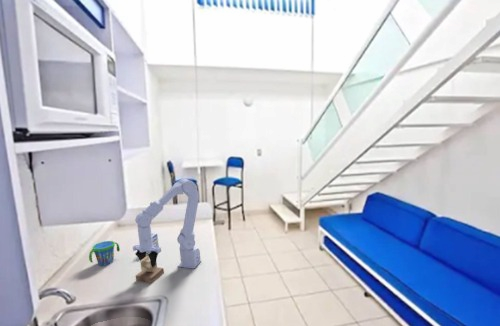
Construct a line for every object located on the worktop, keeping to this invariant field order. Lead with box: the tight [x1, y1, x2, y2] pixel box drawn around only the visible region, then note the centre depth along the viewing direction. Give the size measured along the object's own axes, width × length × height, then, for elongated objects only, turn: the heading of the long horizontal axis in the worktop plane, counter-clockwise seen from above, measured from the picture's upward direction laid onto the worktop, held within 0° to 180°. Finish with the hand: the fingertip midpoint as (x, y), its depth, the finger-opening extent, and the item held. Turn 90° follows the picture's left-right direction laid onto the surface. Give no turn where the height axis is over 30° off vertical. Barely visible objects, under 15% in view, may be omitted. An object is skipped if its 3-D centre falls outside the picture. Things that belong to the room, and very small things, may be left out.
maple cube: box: [139, 255, 158, 272], centre depth 137 cm, size 5×5×5 cm
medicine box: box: [146, 233, 160, 254], centre depth 166 cm, size 8×4×9 cm, turn 168°
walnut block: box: [135, 266, 165, 284], centre depth 138 cm, size 9×9×3 cm
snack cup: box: [88, 240, 120, 266], centre depth 154 cm, size 16×10×10 cm
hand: (148, 265), depth 137 cm, fingers closed on maple cube, 5 cm apart
